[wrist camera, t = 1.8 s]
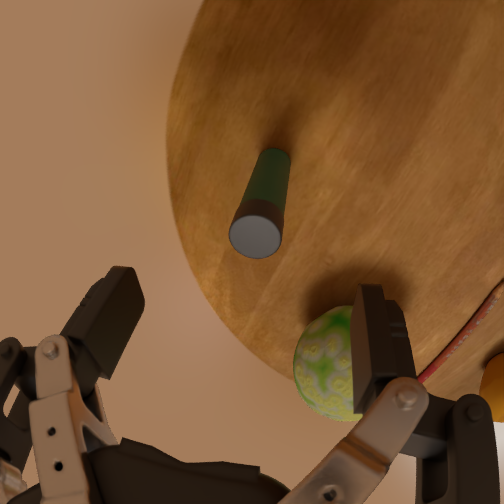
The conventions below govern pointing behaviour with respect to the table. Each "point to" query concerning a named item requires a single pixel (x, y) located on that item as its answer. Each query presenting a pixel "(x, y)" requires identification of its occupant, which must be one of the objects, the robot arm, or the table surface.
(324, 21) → the table surface
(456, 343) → the pencil
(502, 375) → the apple
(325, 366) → the decorative ball
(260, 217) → the marker
